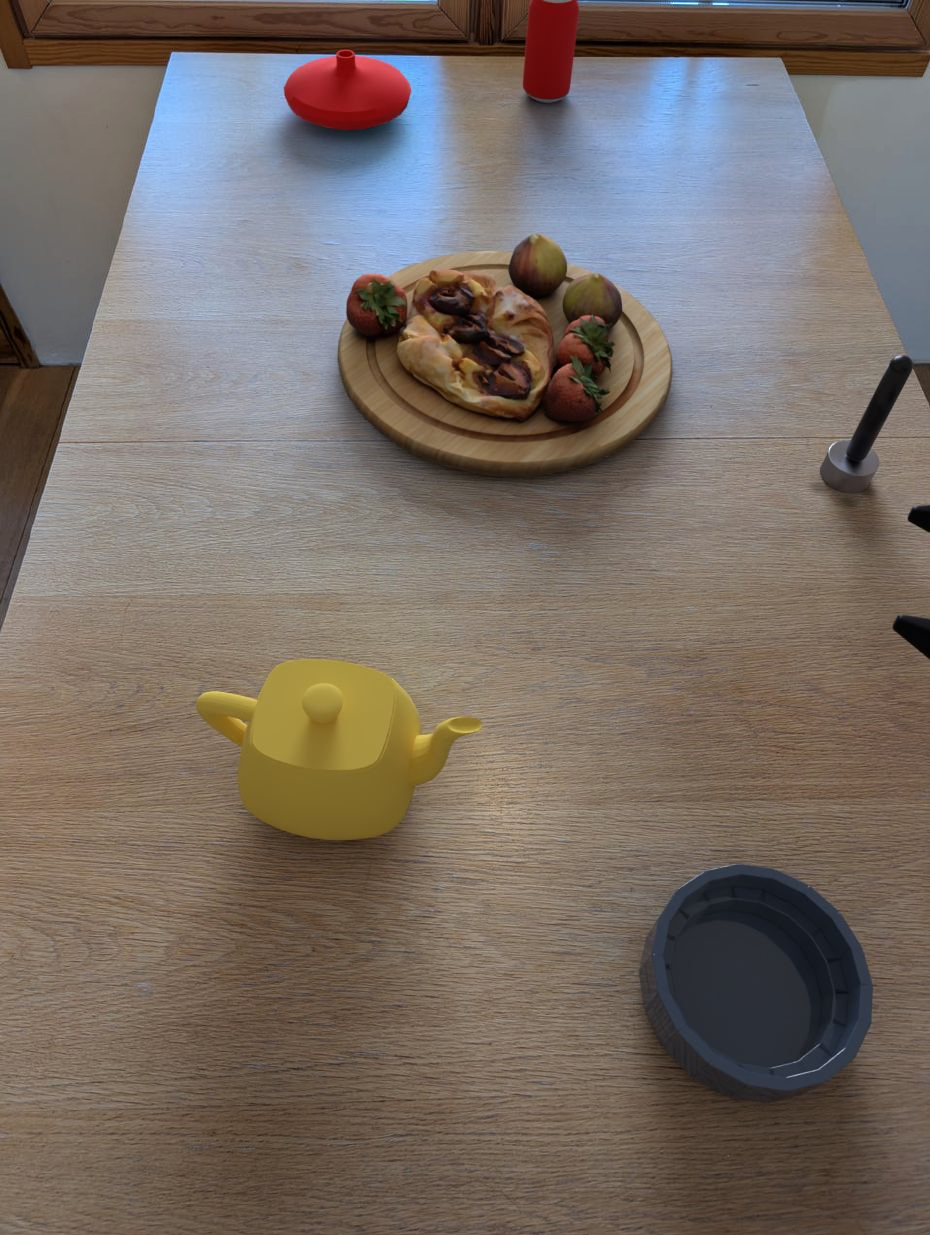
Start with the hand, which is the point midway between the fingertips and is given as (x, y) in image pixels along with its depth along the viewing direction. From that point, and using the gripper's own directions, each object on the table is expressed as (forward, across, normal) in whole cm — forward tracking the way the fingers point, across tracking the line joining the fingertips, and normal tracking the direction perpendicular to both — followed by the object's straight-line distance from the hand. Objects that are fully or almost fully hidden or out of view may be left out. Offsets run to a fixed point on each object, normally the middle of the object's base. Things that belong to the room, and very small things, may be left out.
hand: (902, 564), depth 57 cm
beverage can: (+48, -80, +13) cm, 94 cm away
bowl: (+2, +23, +16) cm, 28 cm away
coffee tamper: (+2, -24, +16) cm, 29 cm away
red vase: (+69, -64, +12) cm, 96 cm away
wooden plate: (+35, -26, +14) cm, 46 cm away
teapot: (+30, +19, +14) cm, 39 cm away
